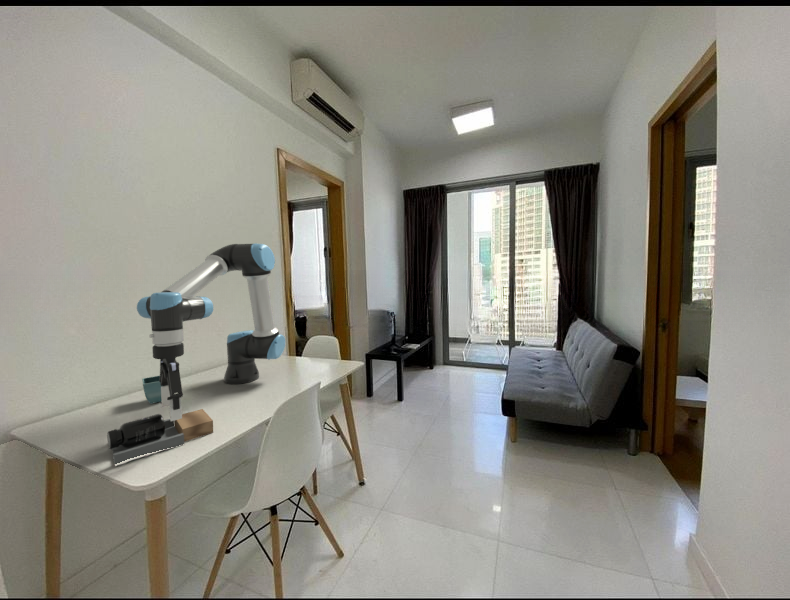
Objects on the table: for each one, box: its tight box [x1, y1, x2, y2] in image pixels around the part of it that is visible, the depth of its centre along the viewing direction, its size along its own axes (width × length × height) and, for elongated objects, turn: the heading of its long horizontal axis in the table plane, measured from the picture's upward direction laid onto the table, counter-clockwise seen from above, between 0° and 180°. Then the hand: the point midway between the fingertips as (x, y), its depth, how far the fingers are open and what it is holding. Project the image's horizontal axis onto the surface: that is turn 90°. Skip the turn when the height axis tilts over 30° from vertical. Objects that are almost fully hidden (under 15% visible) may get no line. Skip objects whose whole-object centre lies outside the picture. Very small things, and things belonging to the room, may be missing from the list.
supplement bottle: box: [106, 413, 165, 450], centre depth 88 cm, size 7×7×12 cm
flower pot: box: [141, 375, 162, 405], centre depth 120 cm, size 9×9×9 cm
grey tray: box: [111, 418, 185, 465], centre depth 88 cm, size 15×15×3 cm
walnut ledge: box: [174, 408, 214, 443], centre depth 97 cm, size 8×12×4 cm, turn 46°
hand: (171, 412), depth 92 cm, fingers open, 13 cm apart
